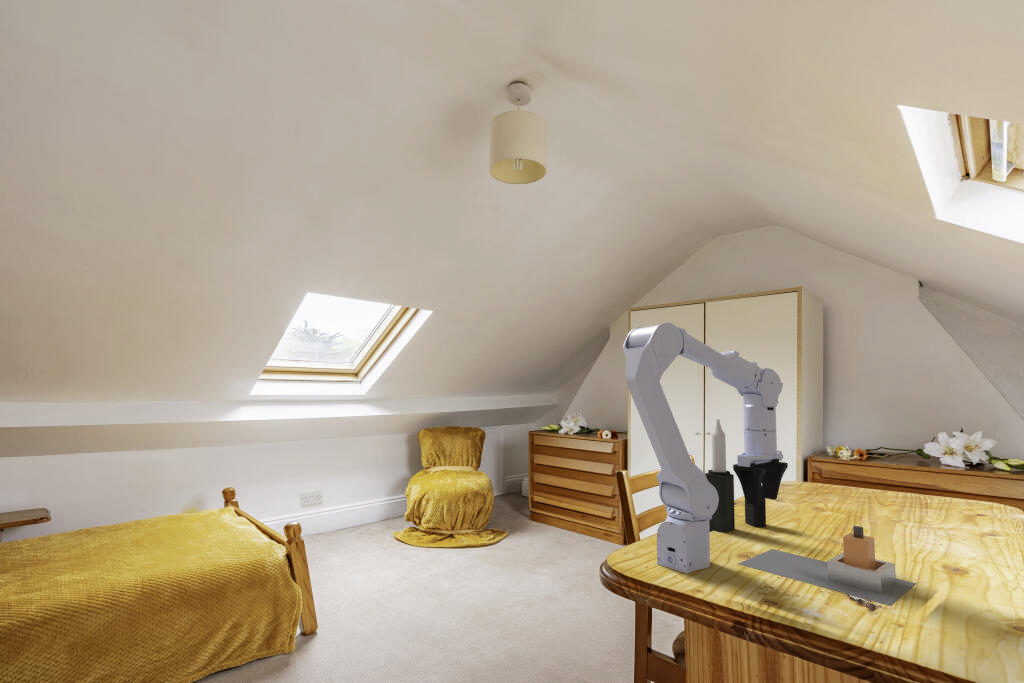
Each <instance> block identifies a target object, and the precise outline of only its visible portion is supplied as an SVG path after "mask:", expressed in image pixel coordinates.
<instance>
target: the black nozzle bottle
mask: <svg viewBox="0 0 1024 683" xmlns="http://www.w3.org/2000/svg"><path fill="white" fill-rule="evenodd" d="M715 421H716V423H715V426H714V429H713V431H712V433H711V469H707V471H708V472H704V473H705V475H706V478H707V480H708V481H709V483H710V484H712V485H713V486H714V487H715V489H716V490H717V493H718V497H719V503H718V507H717V510H716V511H715V513H714V514H713V515H712V519H709V533H711V532H719V533H722V534H723V533H725V534H726V533H729V532H731V531H732V532H733V531H735V530H736V527H735V526H736V523H735V522H736V520H735V518H736V516H735V480H734V479H735V478H734V477H735V476H734V475H735V474H733V473H731V471H729V470H727V457H726V456H727V453H726V452H727V450H726V441H727V440H726V433H725V432H724V430H723V428H722V425H721V420H720V419H719V418H717V419H716V420H715Z"/></svg>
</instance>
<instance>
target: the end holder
mask: <svg viewBox="0 0 1024 683" xmlns="http://www.w3.org/2000/svg"><path fill="white" fill-rule="evenodd" d="M826 562H827V566H828V580H831V581H835V582H839V583H842V584H846V585H850V586H854V587H858V588H862V589H865V590H869V591H873V592H877V593H881V594H882V593H883V592H884V591H886V590H887V589H888V588H889V587H891V586H892V585H893V584H895V583H896V579H897V578H896V576H897V575H896V563H894V562H891V561H885V560H881V559H876V558H875V569H876V570H871V569H867V568H863V567H858V566H854V565H850V564H846V563H844V551H842V552H841V553H839V554H837V555H836V556H834V557H832V558H830V559H829V560H828V559H827V561H826Z"/></svg>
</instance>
